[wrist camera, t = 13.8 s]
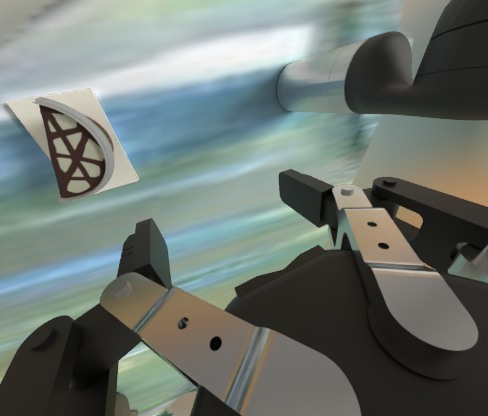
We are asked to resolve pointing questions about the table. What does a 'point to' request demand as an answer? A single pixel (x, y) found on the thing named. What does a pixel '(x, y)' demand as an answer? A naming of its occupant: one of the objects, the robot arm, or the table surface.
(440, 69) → the robot arm
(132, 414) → the thermos
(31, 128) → the board
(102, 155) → the brown lattice half cylinder
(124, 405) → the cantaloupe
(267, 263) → the table surface
